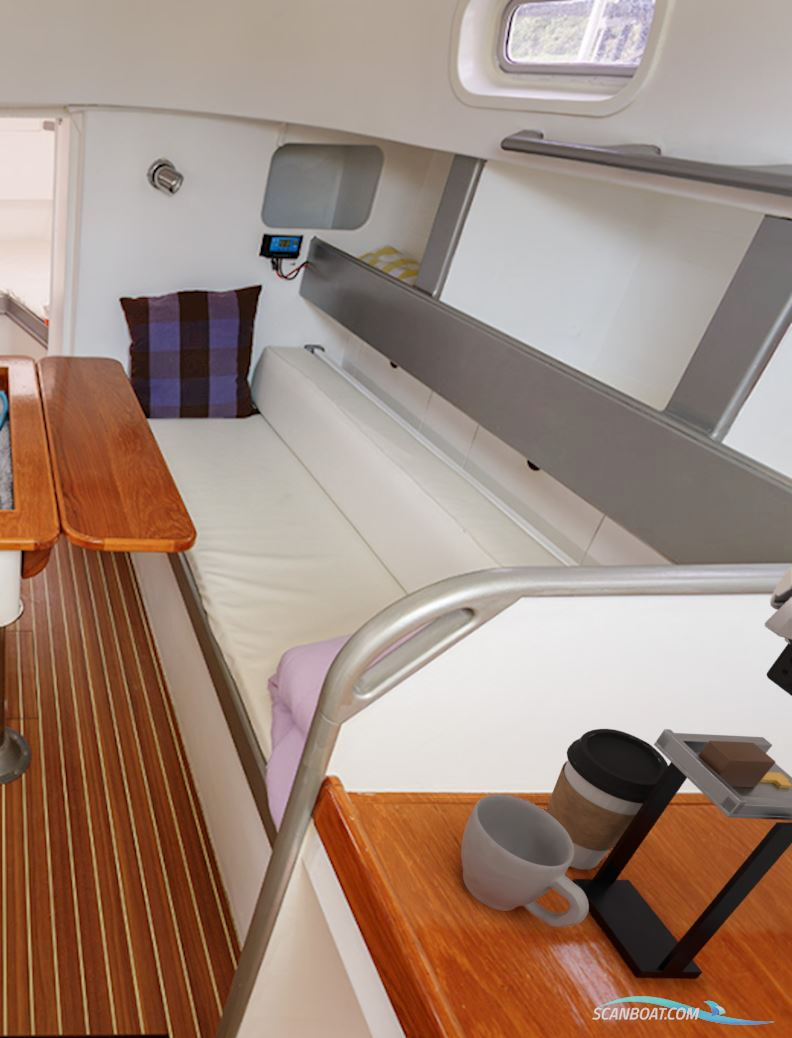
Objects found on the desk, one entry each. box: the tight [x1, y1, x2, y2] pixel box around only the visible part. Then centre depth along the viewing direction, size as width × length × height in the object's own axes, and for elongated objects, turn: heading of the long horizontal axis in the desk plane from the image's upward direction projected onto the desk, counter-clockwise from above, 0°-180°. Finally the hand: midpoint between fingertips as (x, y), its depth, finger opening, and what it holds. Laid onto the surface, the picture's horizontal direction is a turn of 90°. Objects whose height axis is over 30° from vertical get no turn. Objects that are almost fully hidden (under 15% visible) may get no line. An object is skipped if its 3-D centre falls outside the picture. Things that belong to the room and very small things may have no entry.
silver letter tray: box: [653, 728, 792, 821], centre depth 64 cm, size 10×8×2 cm
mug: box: [460, 793, 589, 928], centre depth 75 cm, size 12×9×10 cm
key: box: [698, 741, 792, 788], centre depth 63 cm, size 8×2×3 cm, turn 90°
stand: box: [571, 761, 792, 980], centre depth 69 cm, size 6×10×22 cm, turn 0°
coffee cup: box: [545, 728, 669, 871], centre depth 80 cm, size 8×8×15 cm
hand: (790, 688), depth 64 cm, fingers closed
